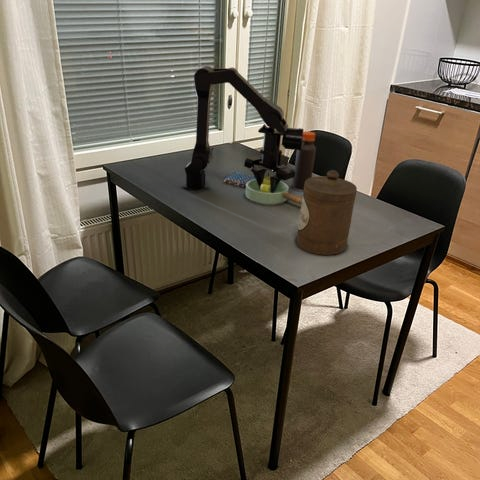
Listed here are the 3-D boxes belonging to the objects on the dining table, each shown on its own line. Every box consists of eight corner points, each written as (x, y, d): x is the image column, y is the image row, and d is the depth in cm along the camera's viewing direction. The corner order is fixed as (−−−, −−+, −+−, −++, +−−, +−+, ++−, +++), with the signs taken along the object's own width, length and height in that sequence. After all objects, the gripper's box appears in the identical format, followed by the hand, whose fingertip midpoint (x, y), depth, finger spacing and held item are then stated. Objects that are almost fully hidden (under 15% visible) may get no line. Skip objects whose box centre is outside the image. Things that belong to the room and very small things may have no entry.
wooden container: (303, 229, 154) (314, 159, 141) (350, 239, 150) (365, 168, 138) (290, 248, 143) (300, 174, 130) (340, 260, 139) (355, 184, 126)
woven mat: (246, 189, 180) (247, 184, 179) (222, 183, 184) (222, 177, 183) (259, 181, 188) (260, 176, 187) (235, 175, 192) (236, 170, 191)
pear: (267, 199, 172) (269, 176, 167) (256, 195, 174) (258, 172, 170) (276, 196, 175) (278, 173, 170) (265, 192, 177) (267, 169, 173)
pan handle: (309, 208, 163) (310, 203, 162) (281, 198, 169) (282, 192, 168) (313, 207, 164) (314, 201, 163) (285, 196, 170) (285, 191, 169)
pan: (268, 208, 166) (270, 197, 164) (236, 195, 174) (237, 184, 172) (295, 198, 176) (297, 187, 173) (264, 186, 184) (265, 175, 181)
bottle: (301, 192, 181) (308, 136, 170) (288, 186, 185) (295, 131, 174) (313, 189, 185) (322, 134, 173) (300, 183, 189) (308, 129, 178)
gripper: (307, 149, 165) (301, 194, 174) (265, 137, 175) (261, 179, 184) (287, 155, 158) (281, 201, 167) (244, 142, 168) (241, 186, 177)
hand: (266, 191), depth 174 cm, fingers closed on pear, 5 cm apart
